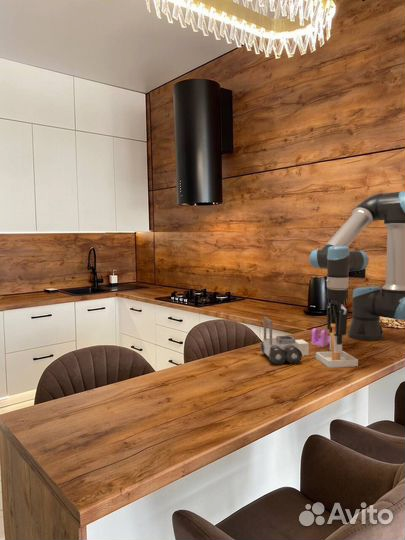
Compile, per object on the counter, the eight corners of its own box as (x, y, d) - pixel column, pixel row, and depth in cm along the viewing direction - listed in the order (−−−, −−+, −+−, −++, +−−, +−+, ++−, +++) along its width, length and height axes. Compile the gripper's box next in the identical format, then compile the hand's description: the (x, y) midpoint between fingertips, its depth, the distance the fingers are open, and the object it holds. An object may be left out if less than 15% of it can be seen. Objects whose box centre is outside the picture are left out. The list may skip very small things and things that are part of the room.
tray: (343, 357, 160) (343, 350, 160) (357, 366, 149) (358, 359, 149) (315, 358, 159) (315, 352, 159) (328, 368, 148) (328, 361, 148)
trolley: (289, 352, 167) (289, 314, 165) (302, 363, 153) (302, 321, 151) (260, 354, 165) (260, 315, 164) (270, 365, 151) (270, 323, 150)
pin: (338, 359, 156) (339, 322, 155) (343, 362, 152) (344, 325, 151) (328, 359, 156) (329, 323, 154) (333, 363, 152) (333, 325, 150)
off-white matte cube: (302, 351, 169) (302, 339, 169) (308, 355, 163) (308, 343, 163) (288, 352, 168) (288, 340, 168) (293, 356, 162) (294, 344, 162)
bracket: (323, 347, 175) (323, 330, 175) (311, 344, 179) (311, 328, 178) (337, 341, 185) (337, 325, 184) (325, 338, 188) (325, 323, 188)
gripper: (318, 285, 159) (317, 345, 161) (337, 291, 143) (335, 358, 145) (337, 285, 160) (335, 345, 162) (357, 291, 144) (355, 357, 146)
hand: (335, 351), depth 154 cm, fingers closed on pin, 3 cm apart
